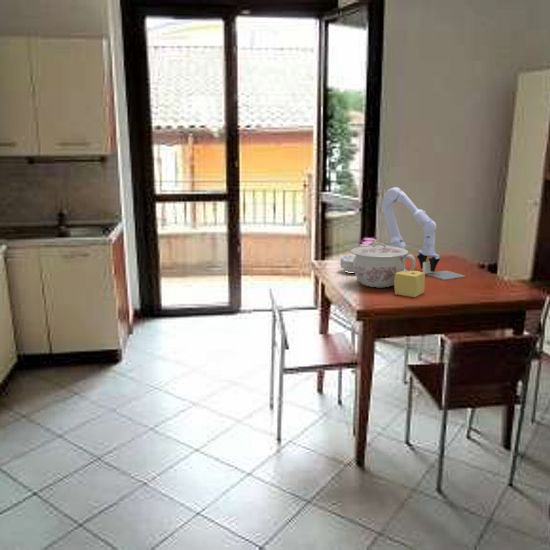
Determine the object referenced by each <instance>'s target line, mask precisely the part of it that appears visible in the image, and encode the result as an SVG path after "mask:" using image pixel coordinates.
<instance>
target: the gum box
mask: <svg viewBox="0 0 550 550" xmlns="http://www.w3.org/2000/svg"><path fill="white" fill-rule="evenodd" d="M378 240H379V239H378V237H376V236H375V237H374V236H364V237H363V238H362V239H361V240H360V241H359V242H358V243H357V247H360V246H366V245H374V244H375V243H378V242H379V241H378Z"/></svg>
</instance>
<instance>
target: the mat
mask: <svg viewBox="0 0 550 550" xmlns="http://www.w3.org/2000/svg"><path fill="white" fill-rule="evenodd" d="M425 276H429V277H432V278H435V279H438V280H442V281H449V280H450V281H451V280H456V279H455V278H457V279H462V277H463V278H466V277H467V276H466V275H463V274H460V273H457V272H454V271H450V270H441V271H439V270H438V271H433V272H432V273H426V274H425Z"/></svg>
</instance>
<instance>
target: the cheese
mask: <svg viewBox="0 0 550 550" xmlns="http://www.w3.org/2000/svg"><path fill="white" fill-rule="evenodd" d="M425 278H426V274H425V272H423V271H419V270H412V271H401V272H397V273H395V279H394V285H393V288H394V294H395V295H397V294H398V295H399V296H403V297H411V298H417V297H418V296H420V295H422V294H424V293H425V284H426V283H425V282H426V281H425V280H426V279H425ZM398 295H397V296H398Z"/></svg>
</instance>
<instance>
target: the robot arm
mask: <svg viewBox="0 0 550 550" xmlns="http://www.w3.org/2000/svg"><path fill="white" fill-rule="evenodd" d="M383 197H384V198H383V200H382V204H381V208H382V212H383V215H384V219H385V222H386V226H387V229H388V232H389V237H390V246H396V247H400V248H403V249H406V250H407V244H406V242H405V241H404V239H403V236H402V235H401V233H400V228H399V226H398V221H397V218H396V214H395V212H394V208H393V206H394V205H395V203H396V202H398V203H402V204H403V205H404V206H405V207H406V208H407V209H408V210H409V211H410V212H411V213H412V214H413V215H412V216H413V217H412V218H414V220H415V221H416V222H417V223H418V224H419V225H420V226H421V227H422V230H423V239H422V240H423V241H422V242H423V243H422V249H420V250H419V249H418V250H417V254H418V255H416V258H417V259H418V262H419V265H420V269H422V270H423V262H427V259H428V261H430V271H431V272H436V271H435V270H436V268H437V266H438V263H439V262H440V259H441V258H440V254H437V253H436V251H435V247H436V229H437V223H436V221H434V220H433V219H432V218H430V216H428V214H427V211H425V210H423V209H420V208H418V207H417V206H416V205H415V203H413V201H412V200H411V198H410V197H408V195H407V194H406V193H405V191H403V190H402V189H401V188H400V187H399V186H394V187H391V188H389V189H387V191H386V192H385V193H384V196H383ZM404 256H405V255H404ZM404 256H403V257H404ZM428 257H429V258H428ZM408 270H409V269H406V268H404V271H408Z"/></svg>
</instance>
